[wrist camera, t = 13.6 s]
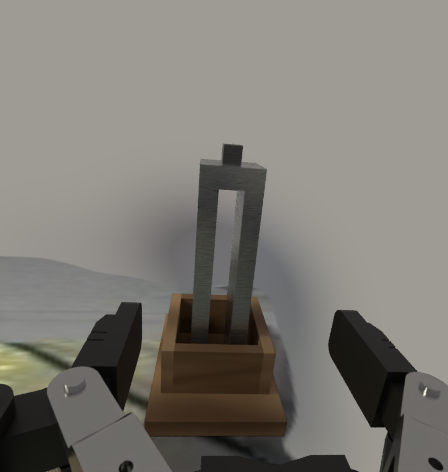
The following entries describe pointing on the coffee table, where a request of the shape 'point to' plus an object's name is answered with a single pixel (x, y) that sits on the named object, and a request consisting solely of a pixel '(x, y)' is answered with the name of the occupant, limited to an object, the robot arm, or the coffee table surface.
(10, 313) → the coffee table surface
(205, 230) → the tall gray rectangular post
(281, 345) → the coffee table surface
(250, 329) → the brown open box stand
